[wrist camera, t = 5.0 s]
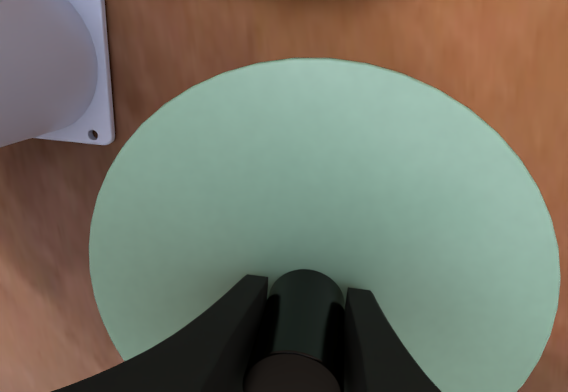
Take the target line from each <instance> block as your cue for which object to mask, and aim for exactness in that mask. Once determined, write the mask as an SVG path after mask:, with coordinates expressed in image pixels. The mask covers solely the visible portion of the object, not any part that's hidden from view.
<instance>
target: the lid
mask: <svg viewBox="0 0 568 392" xmlns="http://www.w3.org/2000/svg"><path fill="white" fill-rule="evenodd" d="M89 263H90V275H91V281H92V286H93V291H94V297H95V300H96V303H97V306H98V309H99V312H100V315H101V318H102V321H103V323H104V325H105V327H106V329H107V331H108V334H109V336H110V338H111V340H112V342H113V344H114V345H115V347H116V349H117V350H118V352H119V353H120V355H121V357H122V358H123V360H124V361H127V360H129V359H131V358H133V357H135V356H137V355H138V354H140V353H142V352H144V351H146V350H148V349H150V348H152V347H154V346H155V345H157V344H159V343H160V342H162V341H164V340H165V339H167V338H169V337H170V336H172V335H173V334H175V333H176V332H178V331H179V330H180V329H182V328H183V327H185V326H186V325H187V324H189V323H190V322H191V321H193V320H194V319H195V318H197V317H198V316H199V315H201V314H202V313H203V312H204V311H206V310H207V309H208V308H209V307H210V306H211V305H213V304H214V303H215V302H216V301H217V300H219V299H220V298H221V297H222V296H223V295H224V294H225V293H227V292H228V291H229V290H230V289H231V288H232V287H233V286H234V285H235V284H236V283H237V282H238V281H240V280H241V279H242V278H243V277H244V276H245V275H247V274H249V275H257V276H265V277H268V292H267V302H266V305H265V308H264V312H263V315H262V318H261V321H260V325H259V328H258V331H257V334H256V338H255V341H254V344H253V347H252V351H251V354H250V357H249V360H248V364H247V367H246V370H245V373H244V377H243V382H242V387H243V392H344V349H345V342H344V311H345V303H346V296H347V289H348V287H349V288H357V289H365V290H370V291H371V292H372V293H373V294H374V296H375V298H376V300H377V302H378V304H379V306H380V308H381V310H382V311H383V313H384V315H385V316H386V318H387V320H388V322H389V323H390V325H391V326H392V328H393V330H394V331H395V333H396V334H397V336H398V337H399V339H400V340H401V342H402V343H403V345H404V346H405V347H406V349H407V350H408V352H409V353H410V354H411V356H412V357H413V358H414V360H415V361H416V362H417V364H418V365H419V366H420V367H421V369H422V370H423V371H424V372H425V374H426V375H427V376H428V377H429V378H430V380H431V381H432V382H433V383H434V384H435V385H436V386H437V387H438V388H439V389H440V391H441V392H517V391H518V390H519V388H520V387H521V386H522V385H523V384H524V383H525V381H526V380H527V378H528V376H529V375H530V373H531V372H532V370H533V369H534V367H535V366H536V364H537V362H538V361H539V359H540V357H541V355H542V352H543V350H544V348H545V346H546V343H547V341H548V339H549V337H550V334H551V330H552V327H553V323H554V319H555V315H556V312H557V308H558V298H559V288H560V265H559V250H558V244H557V240H556V236H555V232H554V228H553V223H552V219H551V216H550V214H549V211H548V209H547V207H546V204H545V202H544V200H543V197H542V195H541V192H540V190H539V188H538V186H537V184H536V183H535V181H534V180H533V178H532V176H531V175H530V173H529V172H528V170H527V168H526V167H525V165H524V164H523V162H522V161H521V159H520V158H519V157H518V155H517V154H516V153H515V152H514V151H513V150H512V149H511V147H510V146H509V145H508V144H507V143H506V142H505V141H504V139H503V138H502V137H501V136H500V135H499V134H498V132H496V131H495V130H494V129H493V128H492V127H490V126H489V125H488V124H487V123H486V122H485V121H483V120H482V119H481V118H480V117H479V116H478V115H476V114H475V113H474V112H473V111H472V110H471V109H469V108H468V107H466V106H464V105H463V104H461V103H460V102H458V101H456V100H455V99H453V98H452V97H450V96H448V95H447V94H445V93H444V92H442V91H440V90H439V89H437V88H435V87H433V86H430V85H428V84H426V83H424V82H421V81H419V80H417V79H415V78H412V77H410V76H408V75H405V74H403V73H401V72H397V71H393V70H390V69H386V68H383V67H379V66H376V65H372V64H369V63H364V62H357V61H350V60H343V59H336V58H288V59H281V60H274V61H266V62H259V63H255V64H252V65H248V66H245V67H241V68H238V69H234V70H231V71H227V72H224V73H221V74H219V75H217V76H214V77H212V78H210V79H208V80H206V81H203V82H201V83H199V84H197V85H194V86H192V87H191V88H189V89H187V90H186V91H184V92H183V93H181V94H180V95H178V96H176V97H175V98H173V99H172V100H170V101H169V102H167V103H165V104H164V105H163V106H162V107H161V108H160V109H158V110H157V111H156V112H155V113H154V114H153V115H152V116H150V117H149V118H148V119H147V120H146V121H145V122H144V123H142V124H141V126H140V127H139V128H138V129H137V130H136V131H135V133H134V134H133V135H132V136H131V137H130V139H129V140H128V141H127V142H126V143H125V144H124V146H123V147H122V149H121V150H120V152H119V154H118V155H117V157H116V158H115V160H114V162H113V163H112V165H111V167H110V168H109V170H108V172H107V174H106V177H105V179H104V182H103V184H102V186H101V189H100V191H99V194H98V196H97V200H96V204H95V208H94V212H93V216H92V220H91V229H90V239H89Z"/></svg>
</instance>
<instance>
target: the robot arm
mask: <svg viewBox="0 0 568 392" xmlns="http://www.w3.org/2000/svg"><path fill="white" fill-rule="evenodd" d="M93 130H95V131H96V132H97V134H98V138H95V137H94V136H93V133H92V132H93ZM30 138H38V139H48V140H57V141H67V142H77V143H87V144H96V145H108V144H110V143H112V142H113V141H114V139H115V127H114V115H113V102H112V89H111V76H110V63H109V51H108V38H107V25H106V12H105V0H0V147H3V146H7V145H10V144H13V143H16V142H20V141H23V140H26V139H30ZM267 292H268V277H265V276H257V275H249V274H247V275H245V276H244V277H243V278H242V279H241V280H240V281H238V282H237V283H236V284H235V285H234V286H233V287H232V288H231V289H230V290H229V291H228V292H227V293H225V294H224V295H223V296H222V297H221V298H220V299H219V300H217V301H216V302H215V303H214V304H213V305H211V306H210V307H209V308H208V309H207V310H206V311H204V312H203V313H202V314H201V315H199V316H198V317H197V318H195V319H194V320H193V321H191V322H190V323H189V324H187V325H186V326H185V327H183V328H182V329H180V330H179V331H178V332H176V333H175V334H173V335H172V336H170V337H169V338H167V339H165V340H164V341H162V342H160V343H159V344H157V345H155V346H154V347H152V348H150V349H148V350H146V351H144V352H142V353H140V354H138V355H137V356H135V357H133V358H131V359H129V360H127V361H125V362H123V363H121V364H119V365H117V366H115V367H112V368H110V369H108V370H106V371H103V372H101V373H99V374H96V375H94V376H92V377H89V378H87V379H84V380H82V381H79V382H76V383H74V384H71V385H69V386H66V387H63V388H60V389H57V390H54V391H51V392H243V387H242V382H243V377H244V373H245V370H246V367H247V364H248V360H249V357H250V354H251V351H252V347H253V344H254V341H255V338H256V334H257V331H258V328H259V325H260V321H261V318H262V315H263V312H264V308H265V305H266V302H267ZM344 342H345V349H344V392H441V391H440V389H439V388H438V387H437V386H436V385H435V384H434V383H433V382H432V381H431V380H430V378H429V377H428V376H427V375H426V374H425V372H424V371H423V370H422V369H421V367H420V366H419V365H418V364H417V362H416V361H415V360H414V358H413V357H412V356H411V354H410V353H409V352H408V350H407V349H406V347H405V346H404V345H403V343H402V342H401V340H400V339H399V337H398V336H397V334H396V333H395V331H394V330H393V328H392V326H391V325H390V323H389V322H388V320H387V318H386V316H385V315H384V313H383V311H382V310H381V308H380V306H379V304H378V302H377V300H376V298H375V296H374V294H373V293H372V292H371V291H370V290H365V289H357V288H349V287H348V289H347V296H346V303H345V311H344Z"/></svg>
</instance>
